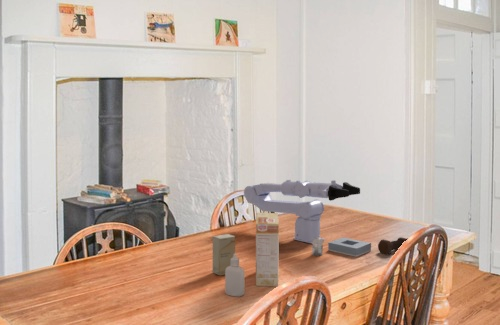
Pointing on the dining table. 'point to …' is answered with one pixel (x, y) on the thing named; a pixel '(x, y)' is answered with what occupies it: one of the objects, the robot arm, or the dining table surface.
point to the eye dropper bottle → (234, 278)
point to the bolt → (390, 245)
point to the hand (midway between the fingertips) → (354, 192)
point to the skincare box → (222, 252)
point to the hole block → (349, 246)
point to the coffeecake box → (267, 249)
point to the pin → (317, 246)
